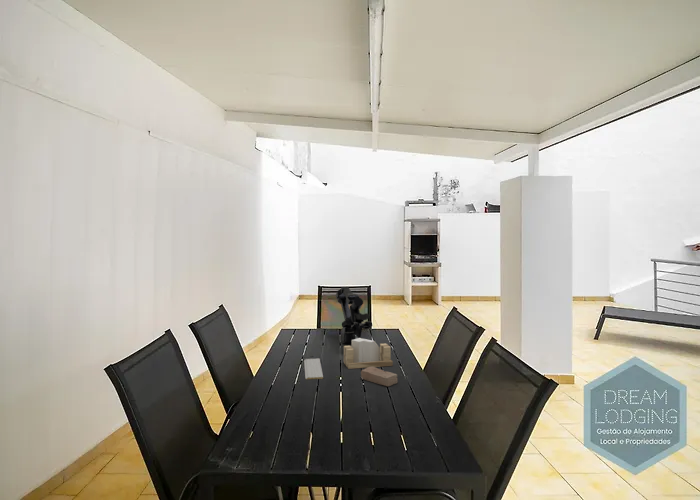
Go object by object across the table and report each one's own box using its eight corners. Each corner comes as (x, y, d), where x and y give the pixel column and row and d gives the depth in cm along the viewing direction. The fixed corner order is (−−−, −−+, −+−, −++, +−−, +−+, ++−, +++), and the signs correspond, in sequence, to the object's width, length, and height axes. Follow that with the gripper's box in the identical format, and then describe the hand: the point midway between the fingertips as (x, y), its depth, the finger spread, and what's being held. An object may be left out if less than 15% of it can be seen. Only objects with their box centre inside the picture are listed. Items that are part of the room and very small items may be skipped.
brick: (398, 382, 202) (398, 373, 202) (387, 387, 196) (387, 377, 196) (371, 375, 213) (371, 365, 213) (360, 379, 207) (360, 369, 207)
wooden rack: (343, 362, 233) (343, 345, 232) (385, 359, 238) (386, 343, 238) (348, 368, 221) (348, 351, 221) (392, 365, 227) (392, 349, 226)
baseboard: (302, 380, 205) (323, 379, 207) (302, 374, 205) (323, 374, 207) (301, 361, 235) (319, 361, 237) (301, 356, 235) (319, 356, 236)
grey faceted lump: (351, 361, 233) (351, 340, 233) (364, 357, 242) (364, 336, 242) (367, 365, 227) (367, 343, 226) (379, 361, 235) (379, 339, 235)
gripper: (349, 306, 249) (353, 331, 241) (375, 309, 259) (380, 333, 250) (339, 314, 257) (343, 338, 248) (365, 317, 266) (369, 340, 258)
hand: (359, 337), depth 251 cm, fingers closed
